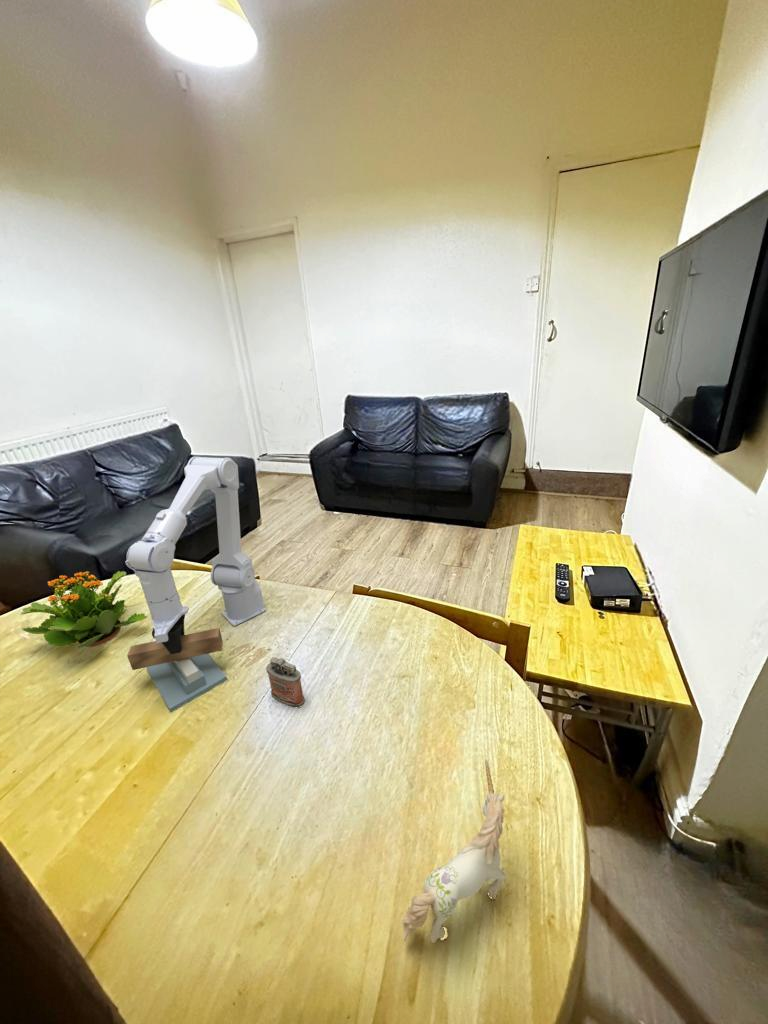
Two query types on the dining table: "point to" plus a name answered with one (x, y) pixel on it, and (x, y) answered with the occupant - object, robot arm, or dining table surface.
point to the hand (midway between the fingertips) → (177, 646)
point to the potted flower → (81, 612)
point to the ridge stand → (185, 679)
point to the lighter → (285, 682)
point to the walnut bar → (191, 647)
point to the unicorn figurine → (462, 872)
